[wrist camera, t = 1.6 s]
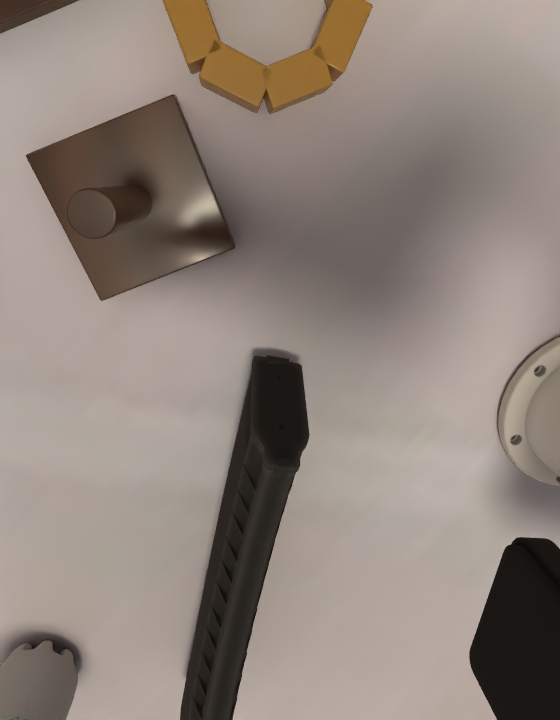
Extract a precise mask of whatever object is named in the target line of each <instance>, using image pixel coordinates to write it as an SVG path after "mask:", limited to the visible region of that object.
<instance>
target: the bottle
mask: <svg viewBox="0 0 560 720" xmlns="http://www.w3.org/2000/svg"><path fill="white" fill-rule="evenodd" d="M77 681H78V672H77V668H76V667H75V666H74V659H73V655H72V653H71V651H69V650H68V649H63V650H62V651H61V652H60V653H59V654H58V653H56V652H54V650H53V642H52V641H49V640H45V641H43V642H42V643H41V644H40V645H39V646H38V647H36V648H35V649H32V646H31V645H30V644H29V643H24V644H22V645H20V646H18V647H17V648H16V649H15V650H14V651H13V652H12V653H11V654H10V655H9V657H8V658H7V659H6V660H5V661H4V662H3V663H2V665H1V666H0V720H66V717H67V715H68V712H69V709H70V707H71V704H72V701H73V698H74V694H75V690H76V686H77Z"/></svg>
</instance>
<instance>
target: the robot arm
mask: <svg viewBox="0 0 560 720" xmlns="http://www.w3.org/2000/svg"><path fill="white" fill-rule="evenodd" d="M498 429H499V434H500V439H501V443H502V445H503V447H504V449H505V452H506V454H507V455H508V456H509V457H510V459H511V460H512V461H513V463H514V464H515V465H516V466H517V467H519V468H520V469H521V470H522V471H523V472H524V473H525V474H527V475H528V476H530V477H531V478H533V479H535V480H537V481H540V482H543V483H546V484H549V485H555V486H560V337H558V338H556V339H554V340H553V341H551V342H549V343H547V344H546V345H544V346H542V347H541V348H540V349H539V350H537V351H536V352H535V353H534V354H533V355H531V356H530V357H529V358H528V359H527V360H526V361H525V362H524V364H523V365H522V366H521V367H520V368H519V369H518V370H517V372H516V373H515V375H514V376H513V378H512V380H511V381H510V383H509V384H508V386H507V389H506V391H505V393H504V396H503V398H502V402H501V406H500V411H499V423H498ZM469 658H470V664H471V668H472V671H473V673H474V675H475V677H476V679H477V681H478V683H479V685H480V687H481V689H482V691H483V693H484V695H485V697H486V699H487V701H488V703H489V704H490V706H491V708H492V710H493V712H494V714H495V716H496V718H497V720H560V549H559V548H558V547H557V546H556V544H555V543H553V542H552V541H551V540H549V539H544V538H523V537H520V538H516V539H515V540H514V541H513V542H512V544H511V545H508V546H507V547H506V548H505V550H504V552H503V555H502V558H501V561H500V564H499V567H498V570H497V573H496V575H495V578H494V581H493V584H492V587H491V590H490V593H489V596H488V599H487V602H486V605H485V607H484V610H483V613H482V616H481V619H480V622H479V625H478V628H477V631H476V634H475V636H474V639H473V642H472V645H471V648H470V657H469Z"/></svg>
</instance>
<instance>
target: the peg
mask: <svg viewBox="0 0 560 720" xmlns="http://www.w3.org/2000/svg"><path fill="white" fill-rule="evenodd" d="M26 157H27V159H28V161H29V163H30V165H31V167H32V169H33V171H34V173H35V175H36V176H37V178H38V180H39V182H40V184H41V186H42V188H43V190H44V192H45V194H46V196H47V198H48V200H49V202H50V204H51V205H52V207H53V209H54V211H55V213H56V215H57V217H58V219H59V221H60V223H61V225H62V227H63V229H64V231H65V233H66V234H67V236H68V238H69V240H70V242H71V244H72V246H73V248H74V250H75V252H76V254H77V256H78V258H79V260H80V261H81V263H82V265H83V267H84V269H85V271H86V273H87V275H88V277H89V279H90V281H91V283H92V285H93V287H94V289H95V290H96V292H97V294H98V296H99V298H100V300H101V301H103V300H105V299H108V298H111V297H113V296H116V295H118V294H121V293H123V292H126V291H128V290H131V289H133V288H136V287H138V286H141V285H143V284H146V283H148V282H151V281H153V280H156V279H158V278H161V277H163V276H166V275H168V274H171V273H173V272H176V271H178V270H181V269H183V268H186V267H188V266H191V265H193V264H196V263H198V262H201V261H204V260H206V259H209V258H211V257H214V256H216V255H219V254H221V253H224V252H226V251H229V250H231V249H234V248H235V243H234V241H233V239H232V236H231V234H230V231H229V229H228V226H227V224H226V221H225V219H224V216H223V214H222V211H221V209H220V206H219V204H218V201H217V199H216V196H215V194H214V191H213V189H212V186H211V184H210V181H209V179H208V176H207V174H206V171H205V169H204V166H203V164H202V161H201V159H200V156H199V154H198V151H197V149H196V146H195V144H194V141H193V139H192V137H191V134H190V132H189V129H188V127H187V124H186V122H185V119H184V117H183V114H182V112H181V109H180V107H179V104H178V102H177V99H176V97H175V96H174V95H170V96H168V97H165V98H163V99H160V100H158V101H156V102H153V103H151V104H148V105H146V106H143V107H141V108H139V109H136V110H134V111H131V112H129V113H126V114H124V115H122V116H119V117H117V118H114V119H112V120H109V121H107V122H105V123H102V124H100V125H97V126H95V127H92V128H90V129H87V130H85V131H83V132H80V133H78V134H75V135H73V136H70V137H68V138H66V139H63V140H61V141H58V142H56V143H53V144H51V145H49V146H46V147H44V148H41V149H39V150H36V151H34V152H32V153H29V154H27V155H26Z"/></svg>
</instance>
